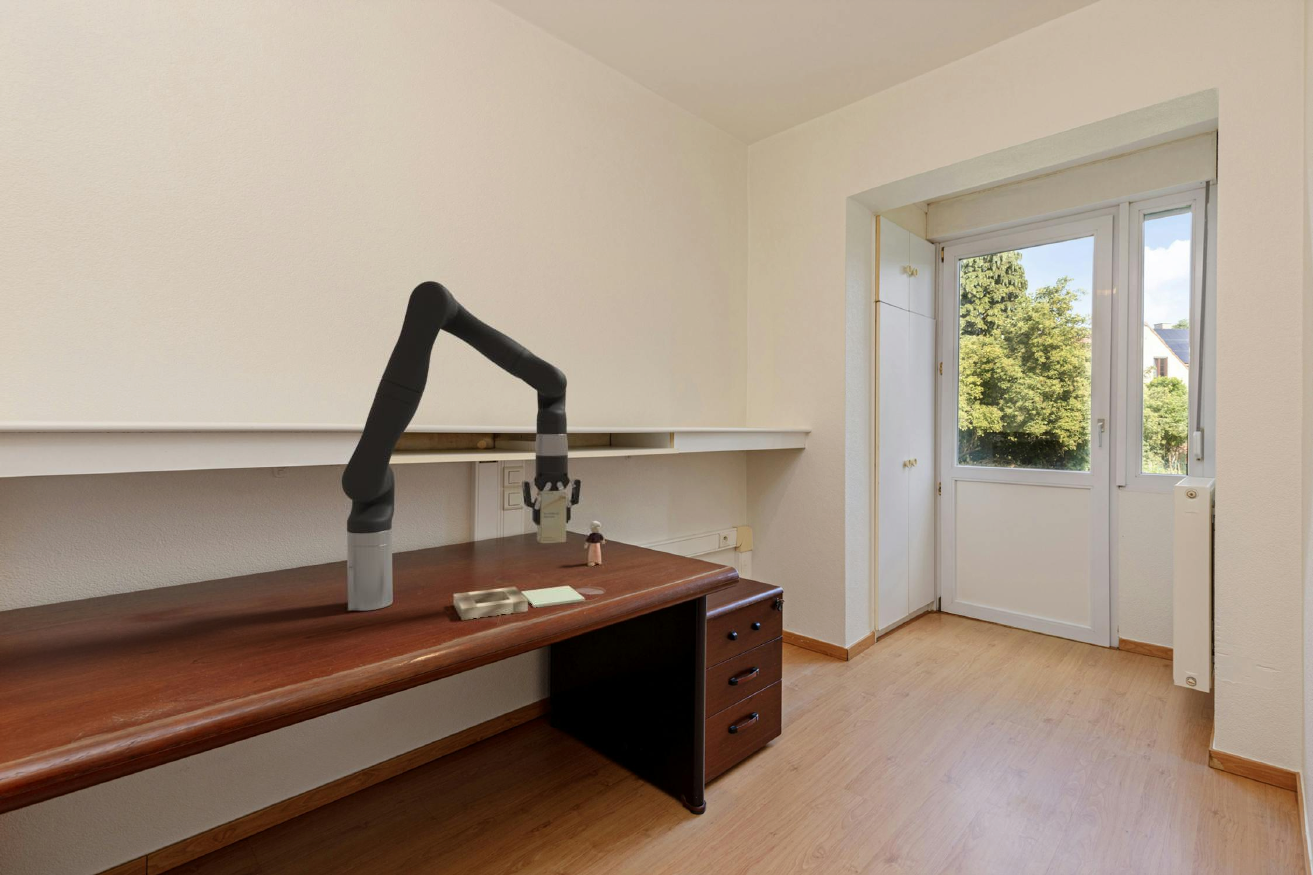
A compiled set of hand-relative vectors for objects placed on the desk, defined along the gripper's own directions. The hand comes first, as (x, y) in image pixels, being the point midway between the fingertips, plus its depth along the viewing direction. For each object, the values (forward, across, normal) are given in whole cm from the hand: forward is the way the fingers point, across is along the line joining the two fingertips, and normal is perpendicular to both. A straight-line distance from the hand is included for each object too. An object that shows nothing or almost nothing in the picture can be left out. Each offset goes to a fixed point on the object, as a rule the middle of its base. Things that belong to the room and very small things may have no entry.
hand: (551, 523), depth 147 cm
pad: (+18, 0, 0) cm, 18 cm away
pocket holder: (+18, -15, -2) cm, 23 cm away
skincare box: (+4, 0, 0) cm, 4 cm away
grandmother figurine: (+18, +21, +27) cm, 39 cm away
